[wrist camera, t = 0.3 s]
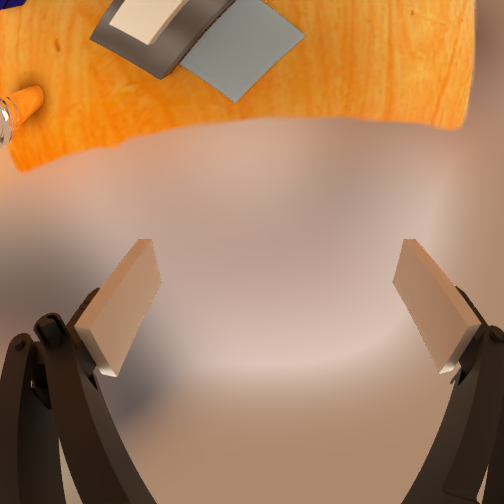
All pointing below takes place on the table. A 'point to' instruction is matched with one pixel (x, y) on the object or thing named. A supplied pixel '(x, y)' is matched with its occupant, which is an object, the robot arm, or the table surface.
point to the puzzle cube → (10, 3)
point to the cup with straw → (18, 110)
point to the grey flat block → (168, 43)
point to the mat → (241, 47)
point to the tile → (146, 17)
